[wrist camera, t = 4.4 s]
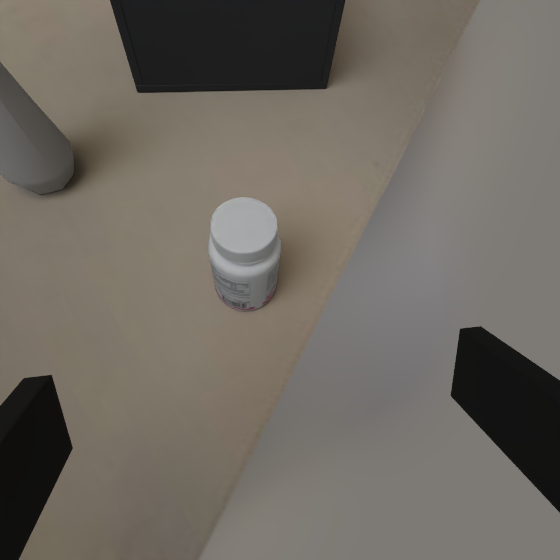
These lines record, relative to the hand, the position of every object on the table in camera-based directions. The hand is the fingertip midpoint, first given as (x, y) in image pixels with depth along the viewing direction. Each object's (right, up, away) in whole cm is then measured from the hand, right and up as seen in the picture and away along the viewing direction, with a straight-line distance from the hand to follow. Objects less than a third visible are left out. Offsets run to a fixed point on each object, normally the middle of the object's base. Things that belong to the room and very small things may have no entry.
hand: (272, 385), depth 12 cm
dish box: (-5, +30, +30) cm, 43 cm away
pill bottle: (-2, +3, +17) cm, 18 cm away
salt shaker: (-20, +12, +20) cm, 31 cm away
